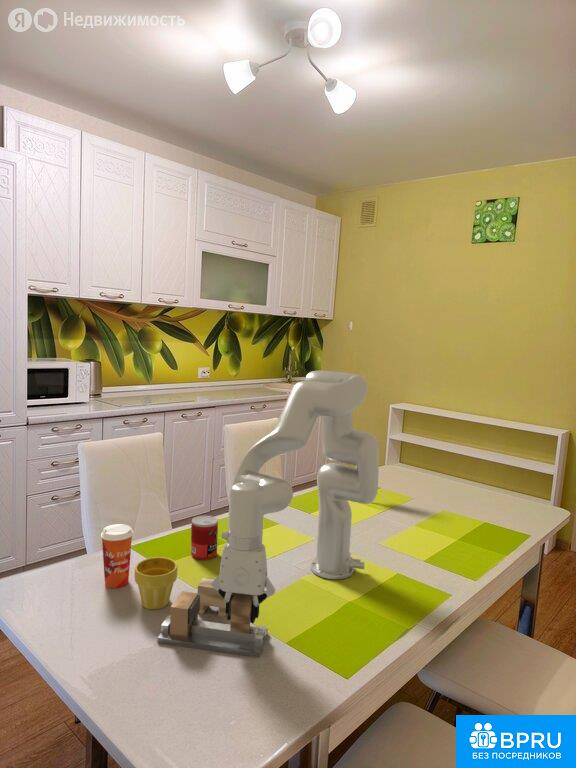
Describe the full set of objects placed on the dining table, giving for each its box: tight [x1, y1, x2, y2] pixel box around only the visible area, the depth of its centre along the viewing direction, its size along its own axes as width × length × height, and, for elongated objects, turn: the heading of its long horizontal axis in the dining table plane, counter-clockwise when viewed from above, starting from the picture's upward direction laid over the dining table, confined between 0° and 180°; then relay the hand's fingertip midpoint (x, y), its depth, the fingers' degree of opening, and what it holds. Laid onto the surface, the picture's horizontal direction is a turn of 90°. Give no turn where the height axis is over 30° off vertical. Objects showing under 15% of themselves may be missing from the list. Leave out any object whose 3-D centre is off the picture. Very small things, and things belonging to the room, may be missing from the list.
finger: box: [229, 593, 253, 634], centre depth 118 cm, size 5×7×7 cm, turn 171°
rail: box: [156, 591, 269, 658], centre depth 120 cm, size 23×9×8 cm, turn 81°
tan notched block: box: [197, 577, 227, 617], centre depth 132 cm, size 5×7×7 cm, turn 81°
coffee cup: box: [100, 523, 135, 589], centre depth 142 cm, size 8×8×15 cm
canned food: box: [190, 515, 219, 561], centre depth 161 cm, size 8×8×11 cm
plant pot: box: [134, 556, 178, 610], centre depth 133 cm, size 10×10×10 cm
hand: (242, 617), depth 118 cm, fingers closed on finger, 4 cm apart
